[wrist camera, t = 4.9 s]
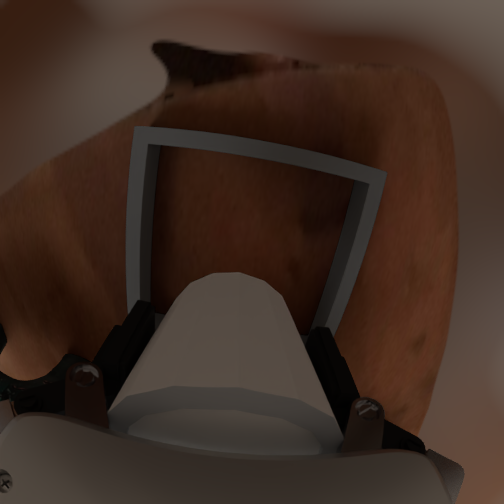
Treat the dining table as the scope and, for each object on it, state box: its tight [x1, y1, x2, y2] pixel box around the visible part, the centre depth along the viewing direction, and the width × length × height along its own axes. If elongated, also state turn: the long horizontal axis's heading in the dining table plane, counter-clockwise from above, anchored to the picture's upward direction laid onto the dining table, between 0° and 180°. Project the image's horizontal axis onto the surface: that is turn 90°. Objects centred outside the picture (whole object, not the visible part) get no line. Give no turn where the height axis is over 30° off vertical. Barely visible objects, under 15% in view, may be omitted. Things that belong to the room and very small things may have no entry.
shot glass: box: [107, 272, 344, 455], centre depth 9 cm, size 7×7×7 cm
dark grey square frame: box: [126, 126, 387, 346], centre depth 18 cm, size 15×15×2 cm
